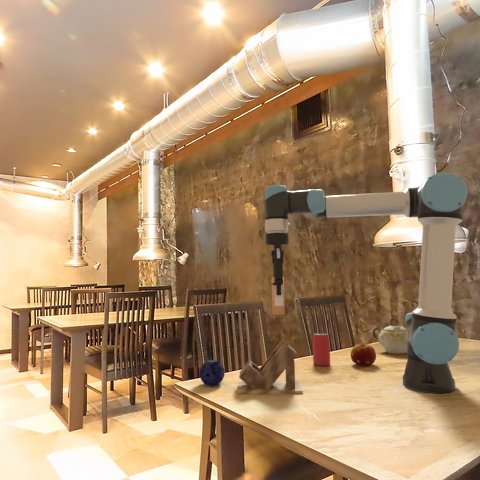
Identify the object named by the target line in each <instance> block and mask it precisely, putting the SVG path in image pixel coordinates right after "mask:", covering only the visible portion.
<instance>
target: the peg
mask: <svg viewBox="0 0 480 480" xmlns="http://www.w3.org/2000/svg"><path fill="white" fill-rule="evenodd" d="M274 282H275V277H273V276H271V314H272V315H275V316H276V315H277V316H282V315H285V314H286V311H285V309H286V307H285V277H284V276H283V306H275V299H274V285H272V283H274Z"/></svg>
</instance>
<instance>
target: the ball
mask: <svg viewBox="0 0 480 480" xmlns="http://www.w3.org/2000/svg"><path fill="white" fill-rule="evenodd" d="M199 378H200V380H201V382H202V383H203V384H205V385H206V386H208V387H210V386H211V387H214V386H217V385H219V384H221V383H223V382H222V381H223V380H224V378H225V369H224V366H223V364H222V363H221V362H220V361H218V360H217V359H209V360H208V359H207V360H206V361H205V362H203V364H202V365H201V366H200V368H199Z"/></svg>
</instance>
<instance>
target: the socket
mask: <svg viewBox="0 0 480 480" xmlns="http://www.w3.org/2000/svg"><path fill="white" fill-rule="evenodd" d="M297 355H298V353H297V350H295V349H294V348H293V347H292V346H291V345H290V344H288V343H287V342H286V341H285V340H284V339H281V341H280V342H279V343H278V344H277V346H276V347H274V349H273V351H272V352H271V353H270V354H269V356H268V357H267V358H266V360H265V361H264V362H263V364H262V365H261V366H260V367H259V366H258V365H257V364H255V363H254V362H253V361H252V360H251V359H249V360H248V361H247V362H246V363H245V365H244V366H243V367H242V369H241V370H240V371H239V376H238V377H239V379H240V380H241V381H238V382H237V383H238V384H237V390H236V394H237V395H275V394H276V395H281V394H282V395H285V394H286V395H293V394H295V395H297V394H298V395H299V394H300V395H303V394H304V390H303V387H302V385H301V383H300V381H299V380H296V371H295V366H296V365H295V357H297ZM283 372H285V381H284V380H282V381H281V380H278V378H279V377H280V376H281V375H282V374H283ZM277 380H278V381H277Z"/></svg>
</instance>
